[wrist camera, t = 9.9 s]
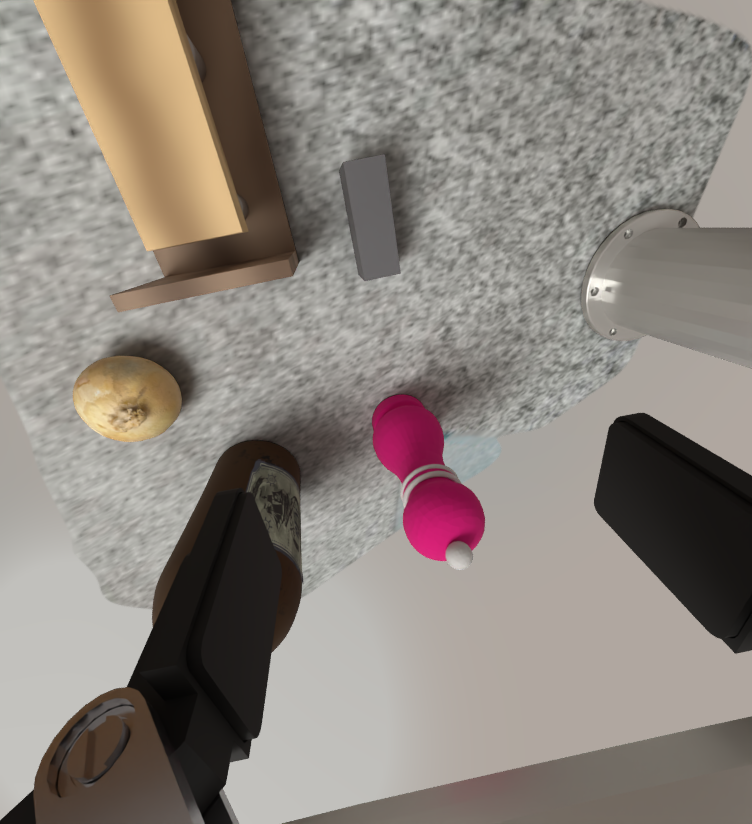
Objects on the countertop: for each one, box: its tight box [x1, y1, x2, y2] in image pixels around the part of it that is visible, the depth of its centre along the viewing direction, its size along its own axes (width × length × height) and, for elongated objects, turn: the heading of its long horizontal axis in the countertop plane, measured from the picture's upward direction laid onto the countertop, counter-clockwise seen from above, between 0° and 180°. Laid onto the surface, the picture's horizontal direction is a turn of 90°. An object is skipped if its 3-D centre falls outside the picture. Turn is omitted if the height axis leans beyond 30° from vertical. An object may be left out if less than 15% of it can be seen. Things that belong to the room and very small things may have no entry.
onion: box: [73, 356, 182, 442], centre depth 31 cm, size 8×8×7 cm
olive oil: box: [152, 441, 303, 653], centre depth 30 cm, size 11×11×25 cm
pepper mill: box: [372, 394, 485, 570], centre depth 31 cm, size 7×7×20 cm
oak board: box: [34, 0, 249, 251], centre depth 20 cm, size 6×12×2 cm, turn 10°
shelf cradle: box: [110, 0, 299, 312], centre depth 22 cm, size 11×18×10 cm, turn 10°
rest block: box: [339, 154, 401, 281], centre depth 29 cm, size 3×8×4 cm, turn 10°
